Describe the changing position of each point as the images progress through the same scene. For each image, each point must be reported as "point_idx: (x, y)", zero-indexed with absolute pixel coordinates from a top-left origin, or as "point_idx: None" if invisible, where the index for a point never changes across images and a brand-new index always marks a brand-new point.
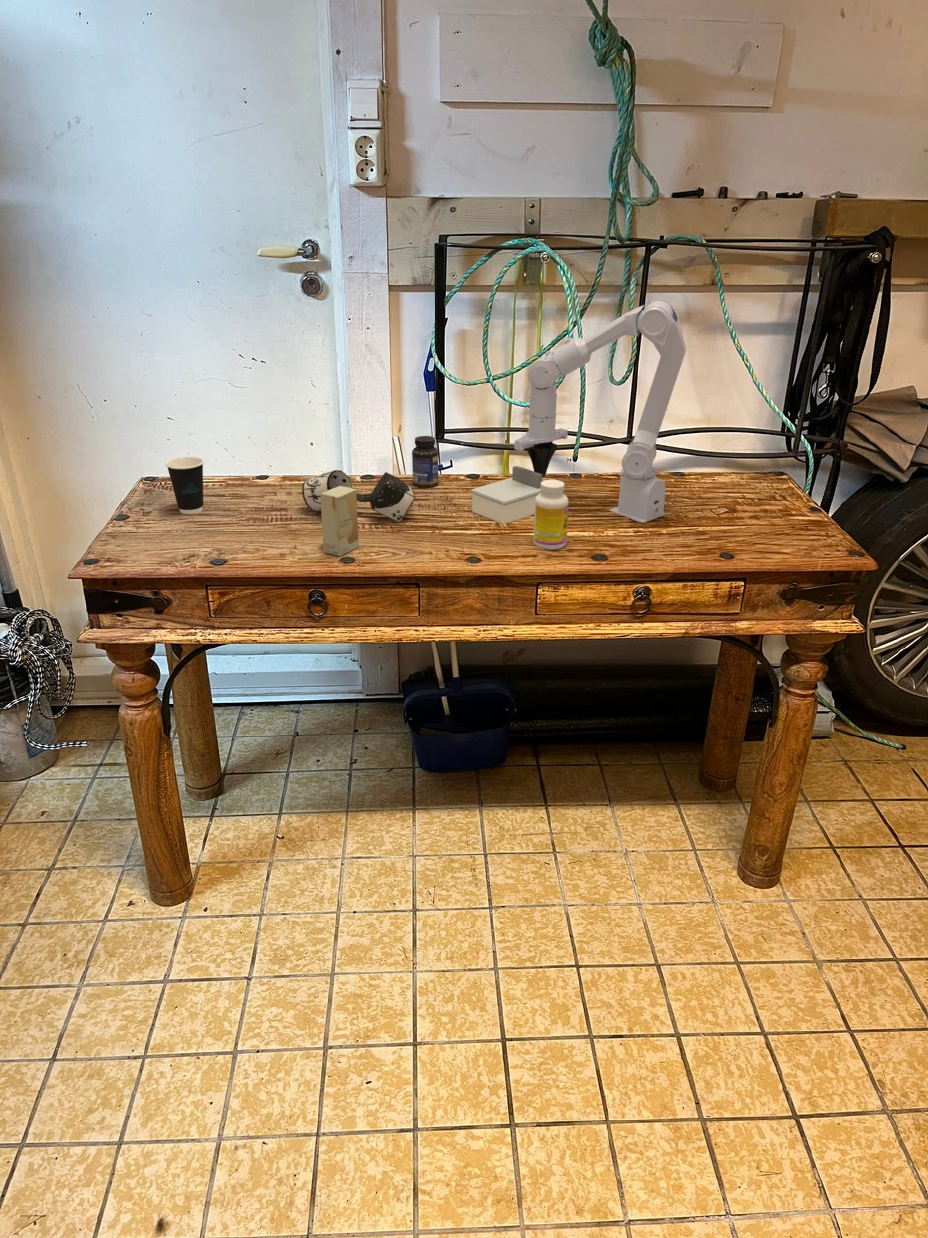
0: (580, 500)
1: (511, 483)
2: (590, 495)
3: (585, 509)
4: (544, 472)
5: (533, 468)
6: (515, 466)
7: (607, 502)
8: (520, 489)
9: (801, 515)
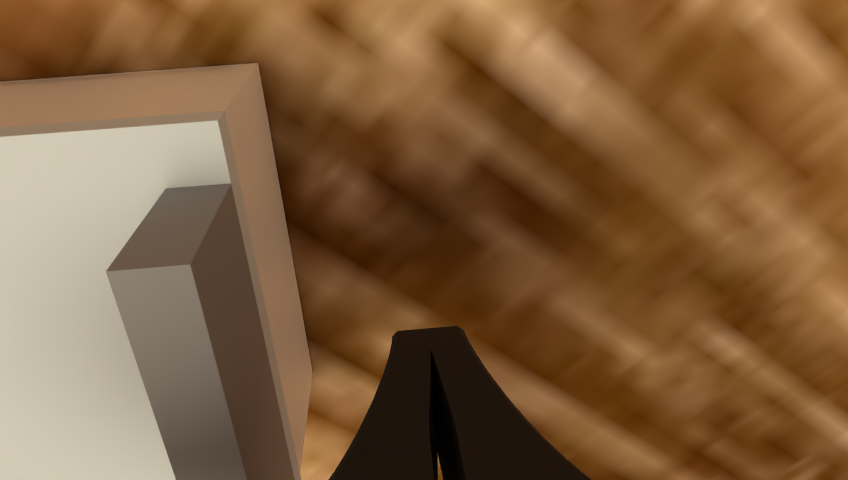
0: (680, 333)
1: (90, 274)
2: (810, 303)
3: (568, 446)
4: (438, 455)
5: (384, 373)
6: (156, 279)
7: (759, 432)
8: (87, 435)
9: None
